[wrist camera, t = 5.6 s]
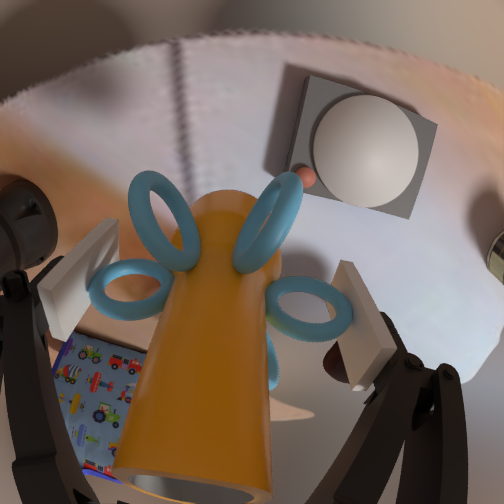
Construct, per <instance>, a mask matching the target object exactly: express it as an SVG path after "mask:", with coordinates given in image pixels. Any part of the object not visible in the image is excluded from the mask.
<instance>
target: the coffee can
mask: <svg viewBox="0 0 504 504" xmlns="http://www.w3.org/2000/svg"><path fill="white" fill-rule="evenodd" d="M487 268H488V270H489V272H491V273H492V274H493V275H494V276H495V277H496V278H497V279H498V280H499V281H500V282H501V283H502V284H503V285H504V231H502V232H501V233H500V234H499V235H498V236H497V237H496V238H495V240H494V241H493V243H492V245H491V247H490V249H489V252H488V256H487Z"/></svg>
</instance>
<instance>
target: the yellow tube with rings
mask: <svg viewBox="0 0 504 504" xmlns="http://www.w3.org/2000/svg"><path fill="white" fill-rule="evenodd" d="M150 190H151V191H154V192H155V193H156V194H158V195H159V196H160V197H161V198H162V199H163V200H164V202H165V203H166V204H167V205H168V207H169V208H170V210H171V212H172V213H173V215H174V217H175V219H176V221H177V224H178V228H177V229H176V231H175V233H174V235H173V237H172V239H171V241H169V240H168V239H167V237H166V236H165V235H164V233H163V232H162V230H161V228H160V227H159V225H158V223H157V221H156V218H155V216H154V213H153V211H152V207H151V203H150ZM302 196H303V183H302V180H301V178H300V177H299V176H298V175H297V174H296V173H294V172H283V173H281V174H280V175H278V176H277V177H276V178H274V179H273V180H272V181H271V183H270V184H269V185H268V186H267V187H266V188H265V190H264V191H263V192H262V194H261V195H260V197H259V198H258V199H257V198H255V197H254V196H252V195H250V194H247V193H245V192H242V191H237V190H219V191H214V192H211V193H209V194H206V195H204V196H203V197H201V198H200V199H198V200H197V201H196V202H195V203H194V204H193V205H192V206H191V207H190V208H189V206H188V205H187V203H186V201H185V199H184V198H183V196H182V195H181V193H180V192H179V191H178V189H177V188H176V187H175V186H174V185H173V184H172V183H171V182H170V181H169V180H168V179H167V178H166V177H165V176H163V175H162V174H160V173H158V172H155V171H143V172H141V173H139V174H137V175H136V176H135V177H134V179H133V180H132V182H131V184H130V187H129V192H128V205H129V211H130V215H131V219H132V222H133V225H134V227H135V230H136V232H137V234H138V236H139V238H140V239H141V241H142V243H143V244H144V246H145V247H146V249H147V250H148V251H149V252H150V254H151V255H152V256H153V257H154V258H155V259H156V260H157V261H158V262H159V263H158V262H156V261H152V260H147V259H125V260H120V261H117V262H114V263H111V264H109V265H107V266H105V267H103V268H102V269H101V270H99V271H98V272H97V273H96V274H95V275H94V277H93V278H92V280H91V282H90V285H89V290H88V292H89V298H90V301H91V303H92V304H93V306H94V307H95V308H96V309H97V310H98V311H99V312H100V313H102V314H104V315H105V316H108V317H110V318H113V319H117V320H125V321H133V320H141V319H145V318H149V317H152V316H154V315H156V314H158V313H160V312H162V314H161V316H160V319H159V322H158V324H157V327H156V330H155V332H154V335H153V338H152V341H151V343H150V346H149V349H148V352H147V355H146V358H145V360H144V363H143V366H142V369H141V372H140V375H139V378H138V381H137V384H136V387H135V390H134V393H133V396H132V399H131V402H130V406H129V409H128V412H127V415H126V419H125V422H124V425H123V429H122V432H121V435H120V439H119V442H118V446H117V450H116V453H115V457H114V461H113V464H112V468H111V474H112V475H113V476H114V477H115V478H116V479H117V480H119V481H120V482H122V483H123V484H125V485H127V486H129V487H131V488H134V489H136V490H138V491H140V492H143V493H146V494H149V495H152V496H155V497H158V498H161V499H165V500H169V501H174V502H178V503H184V504H262V503H265V502H268V501H270V500H271V499H272V498H273V479H272V452H271V425H270V400H269V391H270V390H272V389H274V388H275V387H276V385H277V384H278V380H279V366H278V360H277V356H276V352H275V349H274V346H273V343H272V341H271V339H270V336H269V334H268V332H267V330H266V319H267V321H268V322H269V323H270V324H271V325H272V326H273V327H274V328H276V329H277V330H278V331H280V332H281V333H283V334H285V335H287V336H289V337H292V338H294V339H297V340H301V341H307V342H324V341H329V340H332V339H335V338H337V337H339V336H341V335H342V334H343V333H344V332H345V331H346V330H347V329H348V328H349V326H350V324H351V321H352V316H353V314H352V308H351V305H350V303H349V301H348V299H347V298H346V297H345V296H344V295H343V294H342V293H341V292H340V291H339V290H338V289H336V288H335V287H333V286H332V285H330V284H328V283H326V282H324V281H321V280H318V279H314V278H310V277H303V276H291V277H284V278H281V279H279V278H280V275H281V270H282V256H281V250H280V245H281V244H282V242H283V241H284V239H285V237H286V236H287V234H288V232H289V230H290V228H291V226H292V224H293V222H294V220H295V218H296V215H297V213H298V210H299V207H300V204H301V201H302ZM271 211H272V212H271ZM270 212H271V213H270ZM128 274H145V275H149V276H152V277H154V278H156V279H157V280H158V281H159V282H160V283H161V288H160V289H159V291H158V292H157V293H156V294H154V295H153V296H151V297H149V298H147V299H144V300H140V301H135V302H122V301H117V300H113V299H111V298H109V297H108V296H107V295H106V294H105V292H104V290H105V287H106V286H107V284H108V283H109V282H111V281H112V280H114V279H116V278H118V277H120V276H124V275H128ZM289 292H307V293H311V294H314V295H317V296H319V297H321V298H323V299H325V300H326V301H328V302H329V303H330V304H331V305H332V306H333V308H334V309H335V312H336V316H335V318H334V319H333V320H331V321H329V322H326V323H318V324H317V323H307V322H303V321H300V320H297V319H295V318H293V317H291V316H289V315H288V314H287V313H285V312H284V311H283V310H282V309H281V307H280V306H279V304H278V299H279V298H280V296H282V295H284V294H286V293H289Z"/></svg>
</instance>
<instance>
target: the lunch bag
mask: <svg viewBox="0 0 504 504" xmlns="http://www.w3.org/2000/svg"><path fill="white" fill-rule="evenodd" d="M146 355H147V354H145V353H141V352H137V351H134V350H130V349H127V348H124V347H120V346H117V345H114V344H111V343H107V342H104V341H101V340H98V339H95V338H92V337H89V336H86V335H83V334H80V333H78V332H74V331H73V332H72V333H71V335H70V336H69V338H68V340H67V341H66V342H63V345H62V347H61V349H60V351H59V354H58V356H57V358H56V360H55V363H54V365H53V368H52V373H53V378H54V383H55V387H56V391H57V396H58V400H59V403H60V407H61V411H62V414H63V418H64V421H65V425H66V428H67V431H68V434H69V437H70V440H71V443H72V446H73V449H74V451H75V454H76V457H77V459H78V462H79V464H80V467H81V469H82V472H83V474H84V475H93V476H97V477H100V478H103V479H107V480H110V481H113V482H117V483H121V484H123V483H122V482H120V481H119V480H117V479H116V478H115V477H114V476H113V475H112V474H111V468H112V464H113V461H114V457H115V453H116V450H117V446H118V442H119V439H120V435H121V432H122V429H123V425H124V422H125V419H126V415H127V412H128V409H129V406H130V402H131V399H132V396H133V393H134V390H135V387H136V384H137V381H138V378H139V375H140V372H141V369H142V366H143V363H144V360H145V358H146Z"/></svg>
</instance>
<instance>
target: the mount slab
mask: <svg viewBox="0 0 504 504" xmlns="http://www.w3.org/2000/svg"><path fill="white" fill-rule="evenodd" d="M437 125H438V124H436V123H434V122H432V121H430V120H428V119H426V118H424V117H422V116H420V115H418V114H416V113H414V112H411V111H409V110H407V109H405V108H403V107H400V106H398V105H396V104H393V103H391V102H390V101H388V100H385V99H383V98H380V97H377V96H373V95H371V94H368V93H366V92H363V91H360V90H357V89H354V88H351V87H348V86H345V85H342V84H339V83H336V82H333V81H330V80H326V79H323V78H319V77H316V76H312V75H310V76H308V77H306V78H305V83H304V87H303V92H302V96H301V101H300V105H299V110H298V114H297V119H296V123H295V128H294V132H293V136H292V141H291V145H290V149H289V154H288V158H287V162H286V167H285V171H284V172H294V173H296V174H297V175H298V176H299V177H300V178H301V180H302V183H303V193H306V194H311V195H315V196H320V197H324V198H329V199H333V200H337V201H341V202H345V203H347V204H350V205H353V206H357V207H365V208H369V209H373V210H376V211H380V212H384V213H388V214H391V215H395V216H398V217H402V218H405V219H409V218H410V215H411V212H412V210H413V207H414V204H415V201H416V198H417V195H418V192H419V189H420V186H421V183H422V180H423V177H424V174H425V170H426V167H427V163H428V160H429V156H430V153H431V149H432V145H433V142H434V138H435V134H436V130H437Z"/></svg>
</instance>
